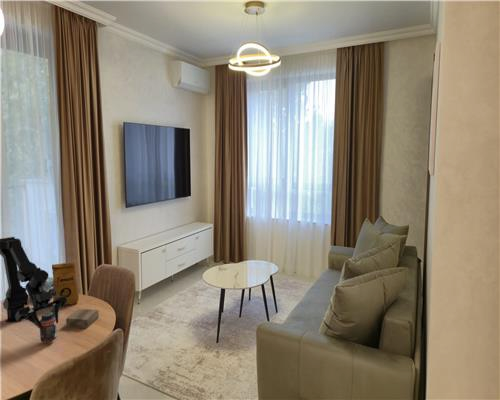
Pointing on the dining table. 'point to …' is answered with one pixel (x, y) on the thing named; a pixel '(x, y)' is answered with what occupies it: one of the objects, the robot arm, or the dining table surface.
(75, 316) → the metal block
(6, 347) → the dining table surface
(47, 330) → the supplement bottle
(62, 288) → the coffee package
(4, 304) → the robot arm
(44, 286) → the light bulb box
